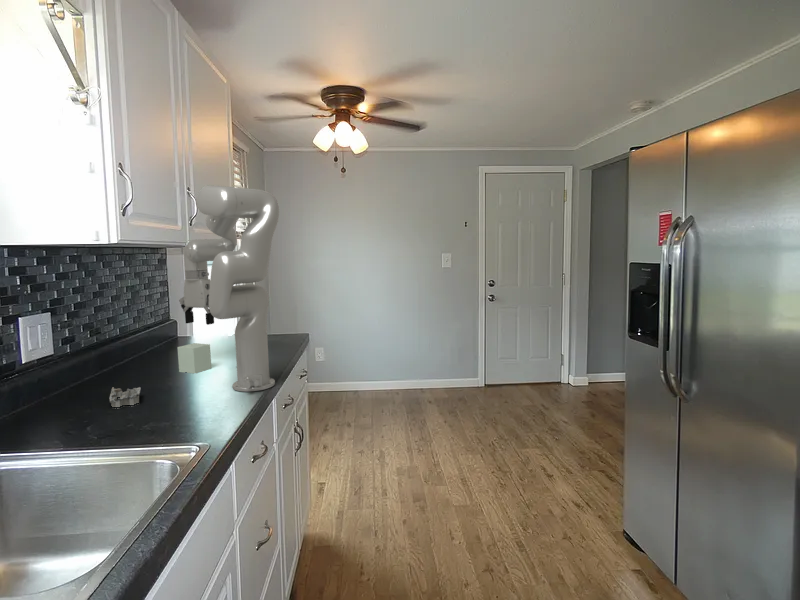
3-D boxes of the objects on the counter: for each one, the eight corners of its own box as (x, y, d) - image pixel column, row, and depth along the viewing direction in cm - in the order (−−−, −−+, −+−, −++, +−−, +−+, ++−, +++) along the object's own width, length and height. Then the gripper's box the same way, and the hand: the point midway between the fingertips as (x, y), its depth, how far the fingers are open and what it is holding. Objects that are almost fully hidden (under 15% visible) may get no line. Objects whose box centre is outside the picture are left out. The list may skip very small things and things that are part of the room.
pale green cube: (195, 373, 169) (193, 348, 168) (179, 371, 172) (177, 347, 171) (211, 368, 176) (209, 344, 175) (195, 366, 179) (194, 343, 178)
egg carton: (113, 400, 143) (111, 386, 142) (142, 396, 146) (140, 382, 145) (108, 411, 133) (106, 396, 132) (139, 406, 136) (138, 392, 136)
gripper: (223, 275, 173) (226, 322, 175) (186, 274, 180) (190, 320, 182) (207, 276, 166) (210, 326, 168) (170, 276, 173) (173, 324, 175)
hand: (199, 323), depth 175 cm, fingers open, 9 cm apart
